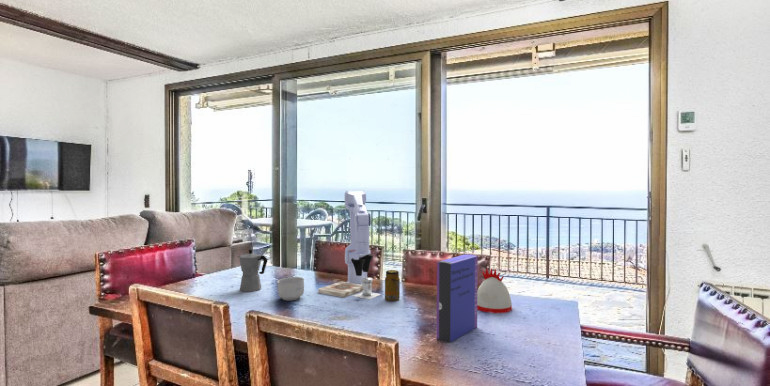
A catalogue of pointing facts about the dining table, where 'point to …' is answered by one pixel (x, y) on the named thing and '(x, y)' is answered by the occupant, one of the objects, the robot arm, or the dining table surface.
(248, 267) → the coffeepot
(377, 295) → the tab
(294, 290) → the teacup
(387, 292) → the condiment
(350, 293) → the hole plate
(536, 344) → the dining table surface
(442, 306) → the blue book
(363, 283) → the knob
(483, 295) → the beige rounded dome
